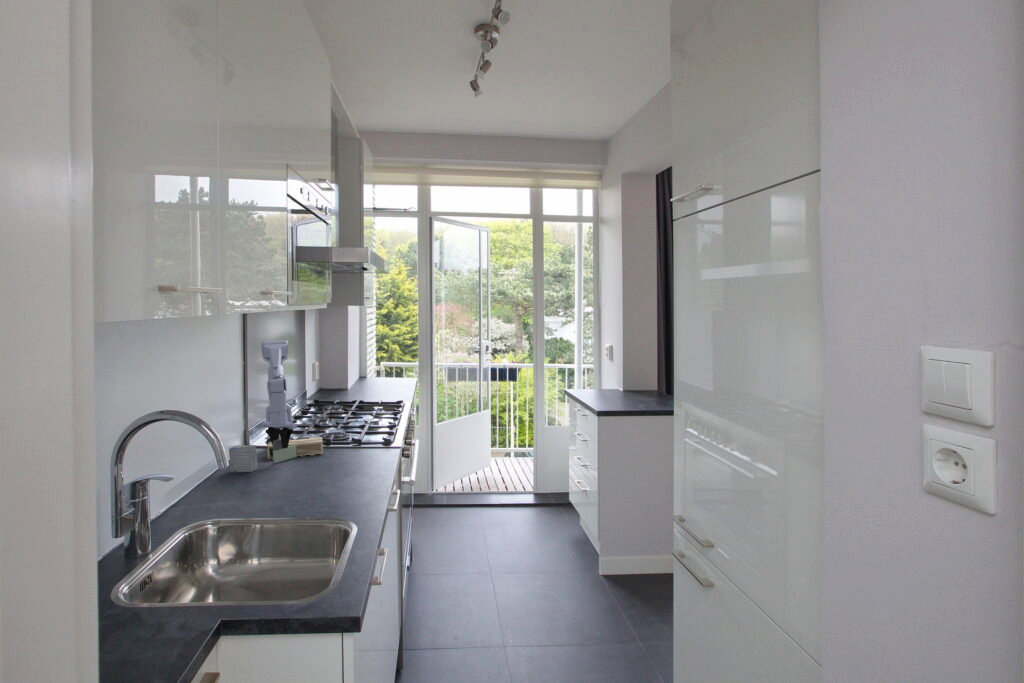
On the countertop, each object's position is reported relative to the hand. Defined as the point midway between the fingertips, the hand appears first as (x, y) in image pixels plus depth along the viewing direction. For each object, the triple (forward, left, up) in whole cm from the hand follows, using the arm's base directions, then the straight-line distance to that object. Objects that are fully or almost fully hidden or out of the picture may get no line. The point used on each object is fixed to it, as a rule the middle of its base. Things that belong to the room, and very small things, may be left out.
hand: (280, 447), depth 227 cm
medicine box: (+6, -12, -6) cm, 15 cm away
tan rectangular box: (-11, +5, -6) cm, 13 cm away
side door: (-3, +1, -5) cm, 6 cm away
